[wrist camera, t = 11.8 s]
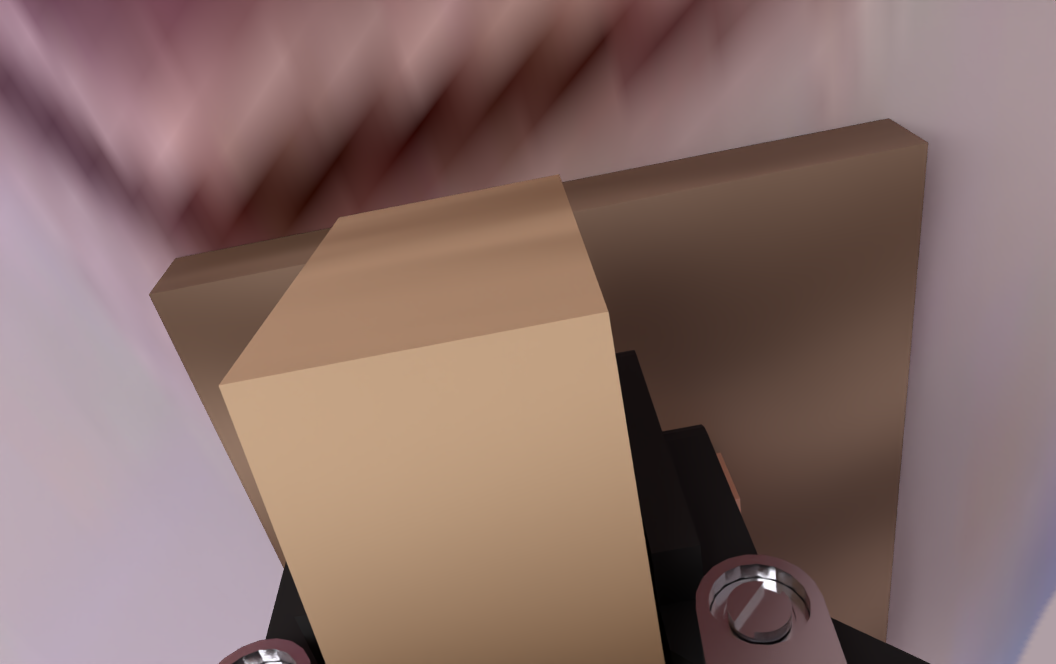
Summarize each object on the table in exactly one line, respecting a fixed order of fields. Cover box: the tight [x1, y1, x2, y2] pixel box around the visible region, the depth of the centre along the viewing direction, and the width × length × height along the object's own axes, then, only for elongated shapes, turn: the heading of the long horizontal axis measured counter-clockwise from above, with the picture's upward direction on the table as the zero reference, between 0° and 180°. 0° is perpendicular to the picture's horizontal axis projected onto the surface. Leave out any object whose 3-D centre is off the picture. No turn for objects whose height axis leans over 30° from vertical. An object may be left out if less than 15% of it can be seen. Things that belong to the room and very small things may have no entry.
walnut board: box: [149, 118, 928, 643], centre depth 19 cm, size 16×14×2 cm
